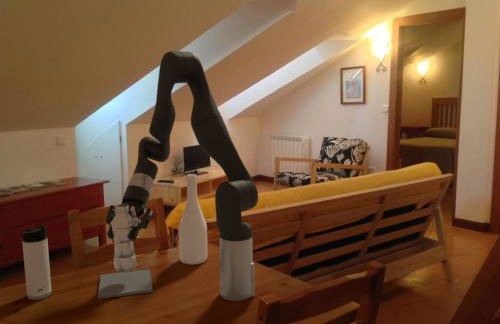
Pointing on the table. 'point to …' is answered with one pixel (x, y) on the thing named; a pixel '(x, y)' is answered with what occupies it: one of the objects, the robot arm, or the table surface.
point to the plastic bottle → (123, 239)
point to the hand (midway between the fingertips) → (120, 238)
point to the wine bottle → (192, 227)
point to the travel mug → (36, 263)
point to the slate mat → (125, 284)
